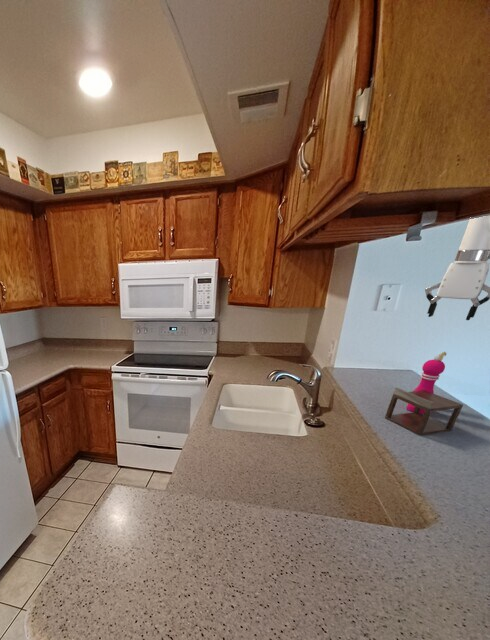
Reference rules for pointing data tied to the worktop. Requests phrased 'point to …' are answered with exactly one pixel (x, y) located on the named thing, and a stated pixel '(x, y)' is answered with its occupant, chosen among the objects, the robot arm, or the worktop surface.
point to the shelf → (429, 404)
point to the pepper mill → (429, 378)
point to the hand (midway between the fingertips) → (448, 318)
